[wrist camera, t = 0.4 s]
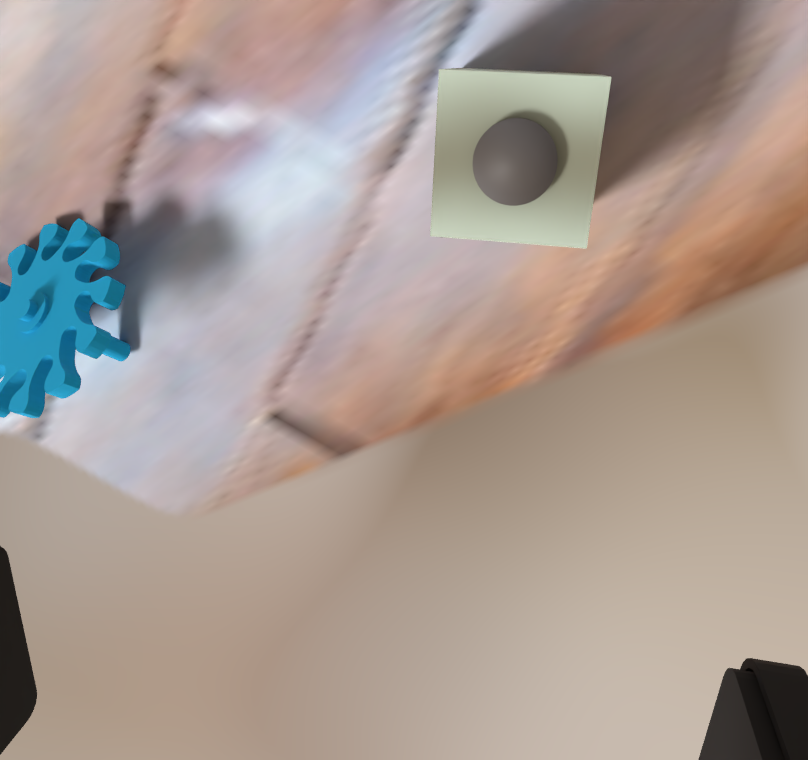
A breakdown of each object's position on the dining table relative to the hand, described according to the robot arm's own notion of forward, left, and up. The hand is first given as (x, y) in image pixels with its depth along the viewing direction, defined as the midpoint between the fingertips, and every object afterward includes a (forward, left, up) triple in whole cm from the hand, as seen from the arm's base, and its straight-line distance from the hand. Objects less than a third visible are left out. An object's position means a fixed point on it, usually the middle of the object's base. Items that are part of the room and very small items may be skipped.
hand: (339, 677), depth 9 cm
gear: (+5, -21, -26) cm, 34 cm away
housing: (-4, +1, -26) cm, 26 cm away
